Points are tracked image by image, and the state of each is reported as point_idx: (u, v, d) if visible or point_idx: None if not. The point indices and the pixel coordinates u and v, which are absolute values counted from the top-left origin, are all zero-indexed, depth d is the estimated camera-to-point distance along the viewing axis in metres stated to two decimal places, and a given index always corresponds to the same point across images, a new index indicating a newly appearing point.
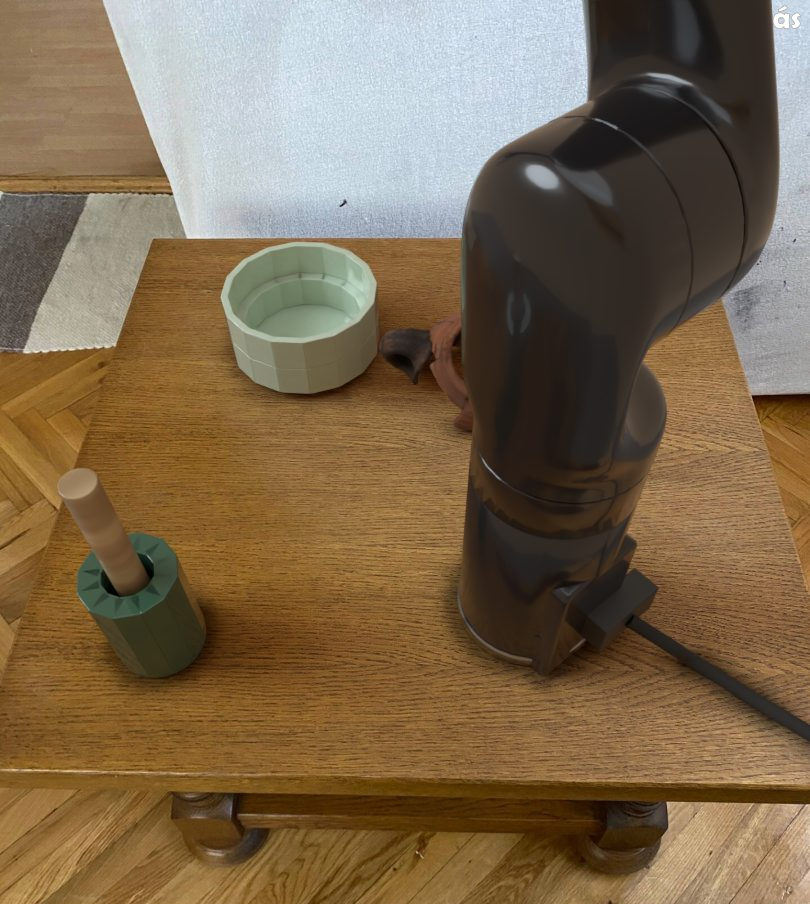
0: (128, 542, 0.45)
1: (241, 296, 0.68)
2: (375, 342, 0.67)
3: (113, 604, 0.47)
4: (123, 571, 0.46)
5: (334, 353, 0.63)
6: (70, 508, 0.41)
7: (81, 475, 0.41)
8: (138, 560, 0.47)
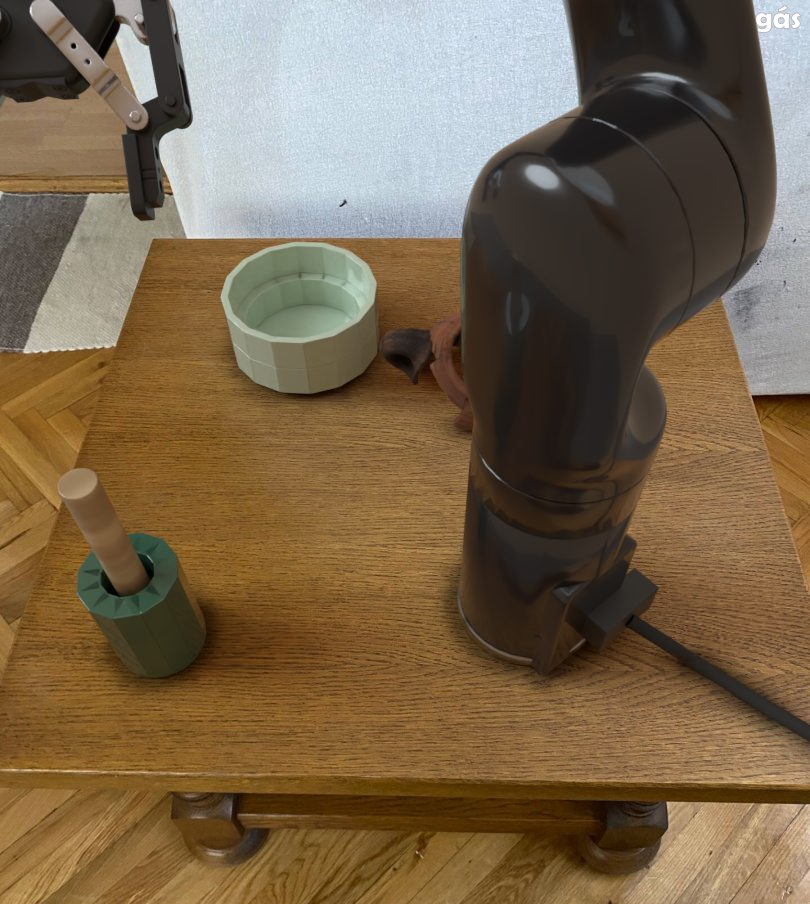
0: (128, 542, 0.45)
1: (241, 296, 0.68)
2: (375, 342, 0.67)
3: (113, 604, 0.47)
4: (123, 571, 0.46)
5: (334, 353, 0.63)
6: (70, 508, 0.41)
7: (81, 475, 0.41)
8: (138, 560, 0.47)
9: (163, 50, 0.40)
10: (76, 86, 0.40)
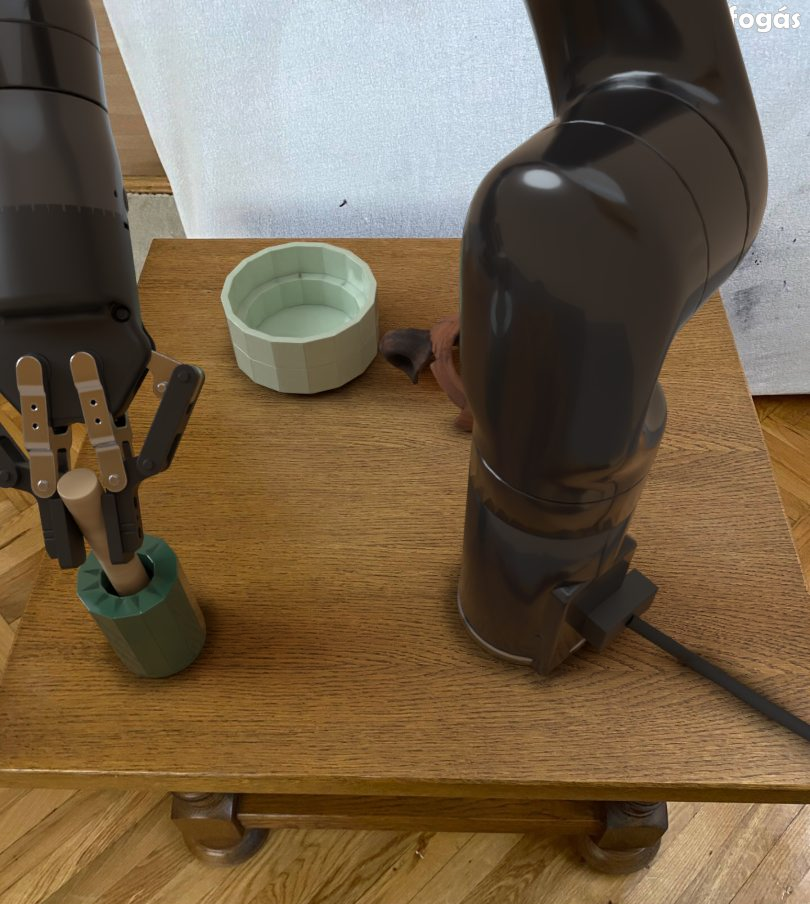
0: None
1: (241, 296, 0.68)
2: (375, 342, 0.67)
3: (113, 604, 0.47)
4: (123, 571, 0.46)
5: (334, 353, 0.63)
6: (70, 508, 0.41)
7: (81, 475, 0.41)
8: (138, 560, 0.47)
9: (166, 423, 0.41)
10: (113, 419, 0.41)
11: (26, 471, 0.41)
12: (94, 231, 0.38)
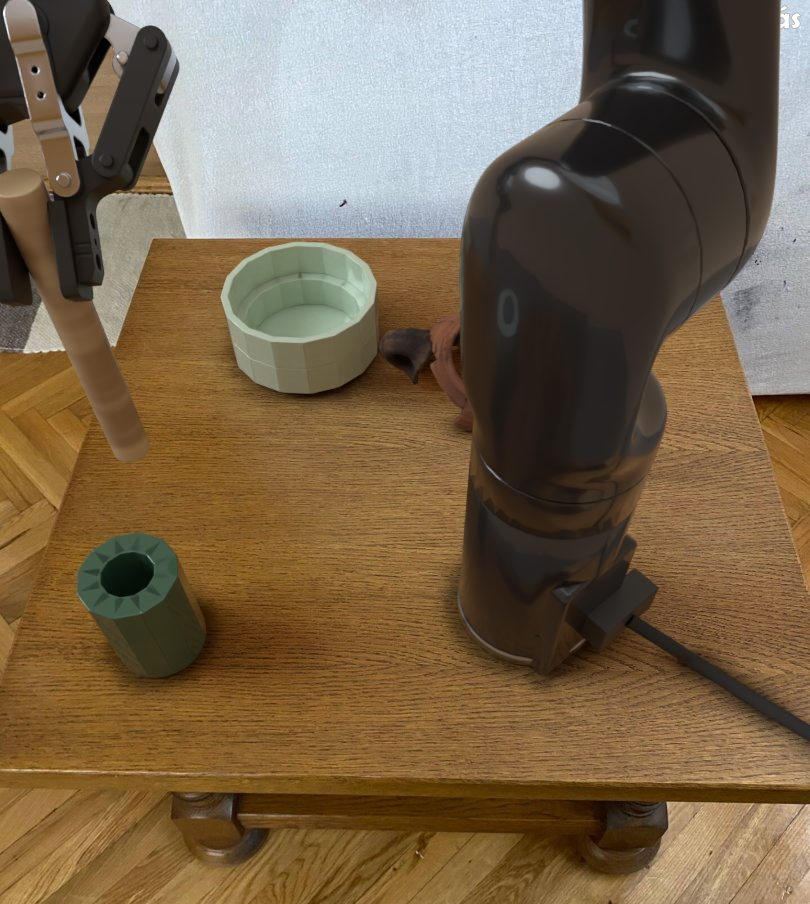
0: None
1: (241, 296, 0.68)
2: (375, 342, 0.67)
3: (113, 604, 0.47)
4: (80, 332, 0.37)
5: (334, 353, 0.63)
6: (7, 216, 0.32)
7: (21, 174, 0.32)
8: (100, 324, 0.38)
9: (129, 106, 0.32)
10: None
11: None
12: None
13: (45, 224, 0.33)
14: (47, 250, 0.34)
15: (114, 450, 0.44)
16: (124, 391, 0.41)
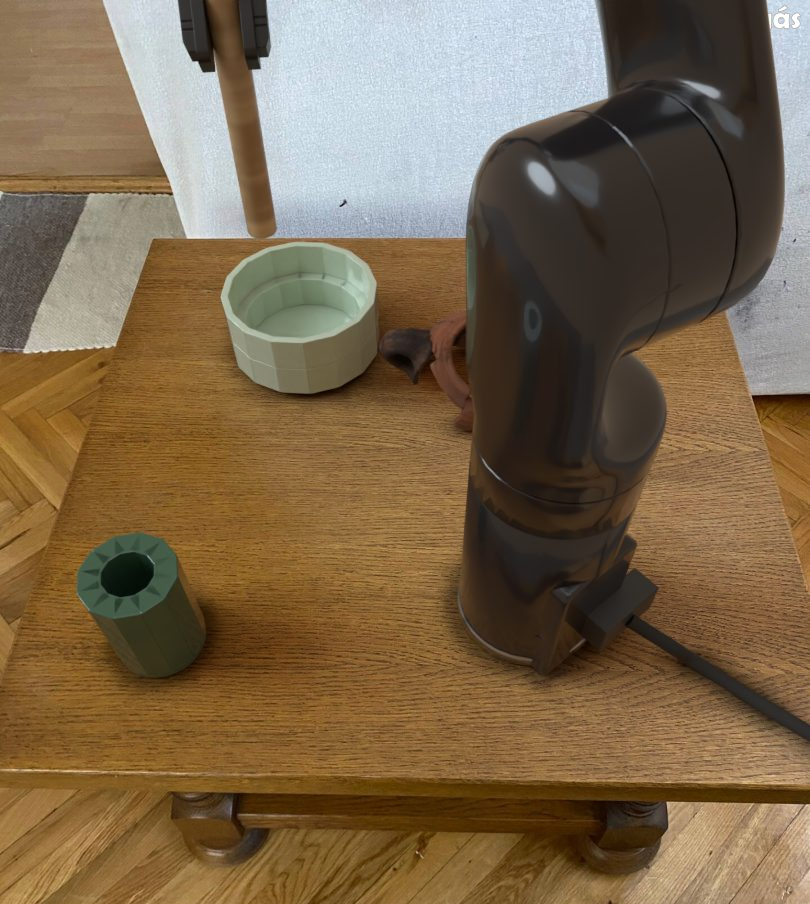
0: None
1: (241, 296, 0.68)
2: (375, 342, 0.67)
3: (113, 604, 0.47)
4: (244, 103, 0.48)
5: (334, 353, 0.63)
6: None
7: None
8: (256, 101, 0.49)
9: None
10: None
11: None
12: None
13: (234, 0, 0.44)
14: (232, 23, 0.45)
15: (250, 226, 0.55)
16: (266, 168, 0.52)
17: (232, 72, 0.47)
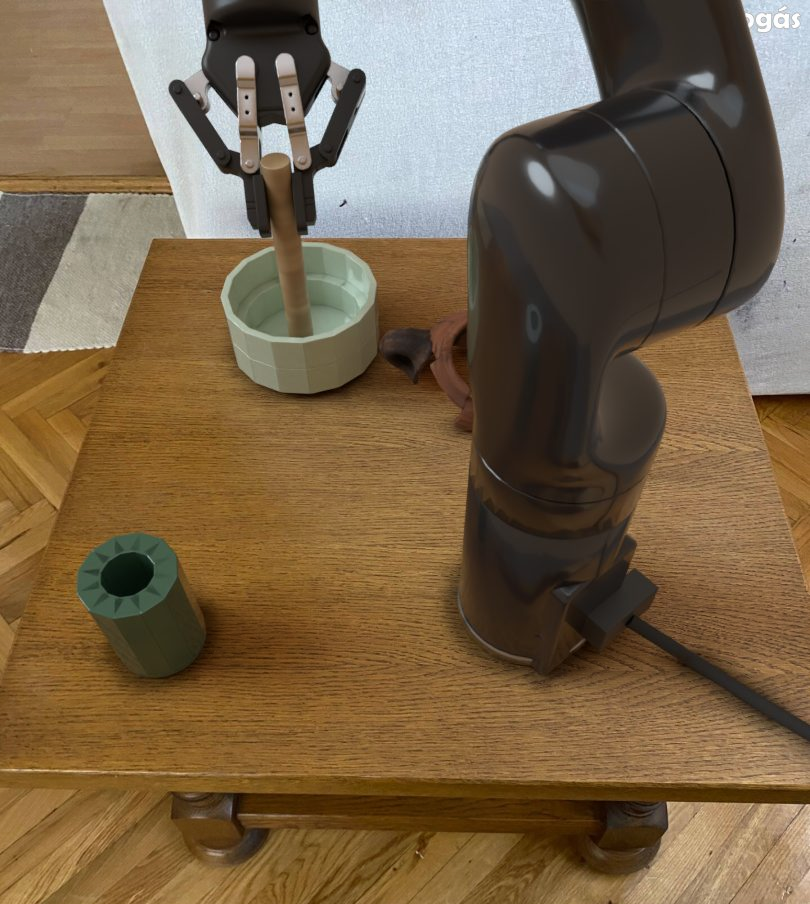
0: None
1: (241, 296, 0.68)
2: (375, 342, 0.67)
3: (113, 604, 0.47)
4: (293, 257, 0.59)
5: (334, 353, 0.63)
6: (268, 181, 0.54)
7: (277, 156, 0.54)
8: (302, 253, 0.60)
9: (342, 115, 0.54)
10: None
11: (235, 154, 0.55)
12: None
13: (288, 186, 0.55)
14: (286, 202, 0.56)
15: None
16: (308, 300, 0.63)
17: (284, 235, 0.58)
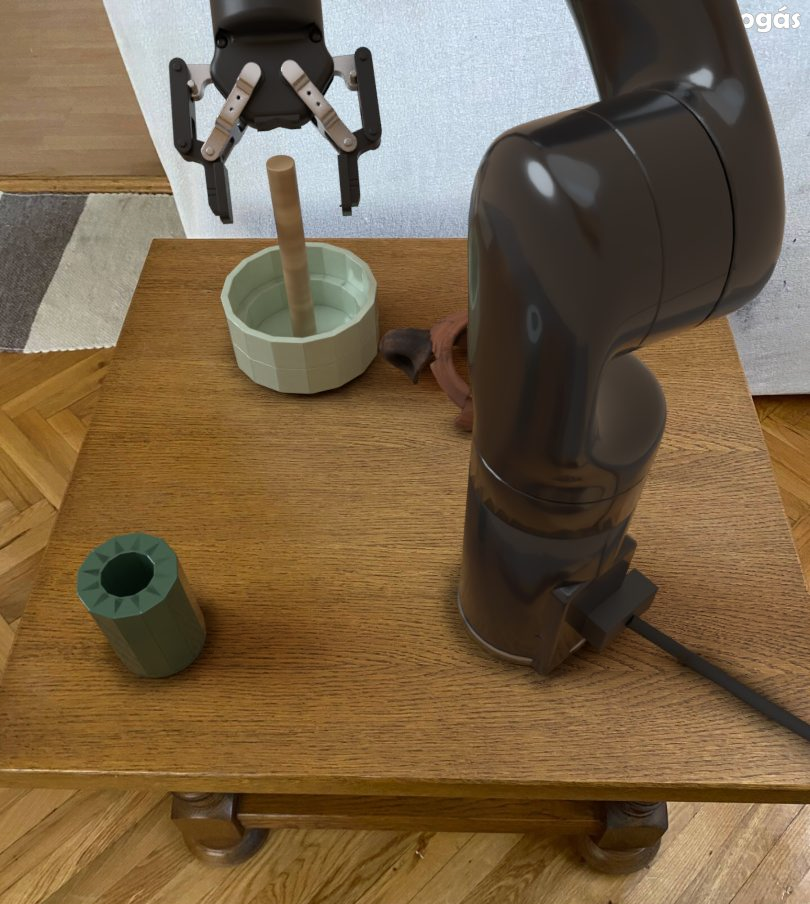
0: (303, 229, 0.61)
1: (241, 296, 0.68)
2: (375, 342, 0.67)
3: (113, 604, 0.47)
4: (297, 255, 0.61)
5: (334, 353, 0.63)
6: (274, 182, 0.57)
7: (282, 158, 0.57)
8: None
9: (369, 95, 0.56)
10: (304, 120, 0.57)
11: (196, 142, 0.56)
12: None
13: (293, 187, 0.57)
14: (291, 203, 0.58)
15: None
16: (311, 297, 0.66)
17: (289, 235, 0.60)
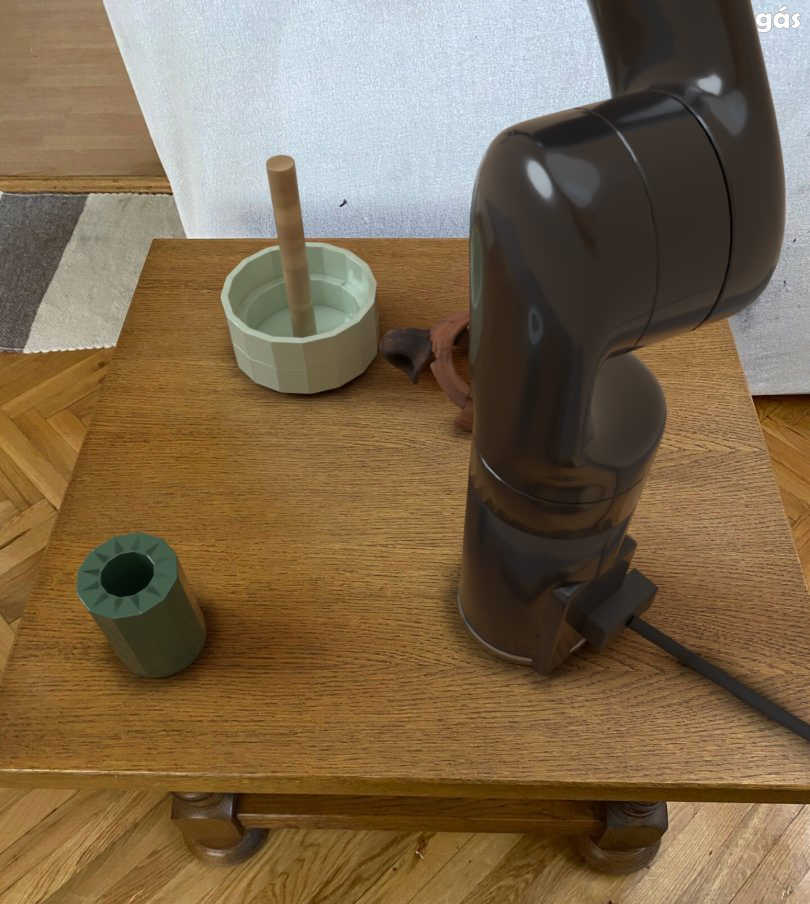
0: (303, 229, 0.61)
1: (241, 296, 0.68)
2: (375, 342, 0.67)
3: (113, 604, 0.47)
4: (297, 255, 0.61)
5: (334, 353, 0.63)
6: (274, 182, 0.57)
7: (282, 158, 0.57)
8: None
9: None
10: None
11: None
12: None
13: (293, 187, 0.57)
14: (291, 203, 0.58)
15: None
16: (311, 297, 0.66)
17: (289, 235, 0.60)
